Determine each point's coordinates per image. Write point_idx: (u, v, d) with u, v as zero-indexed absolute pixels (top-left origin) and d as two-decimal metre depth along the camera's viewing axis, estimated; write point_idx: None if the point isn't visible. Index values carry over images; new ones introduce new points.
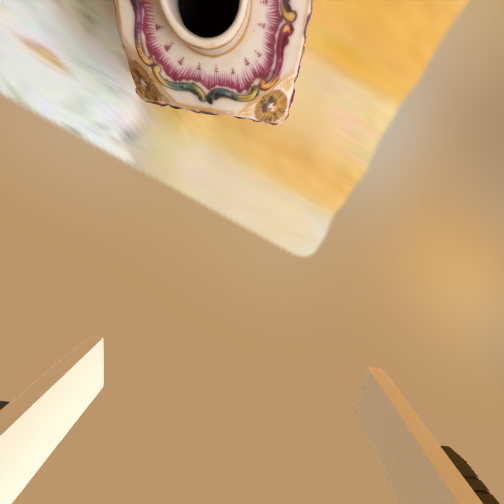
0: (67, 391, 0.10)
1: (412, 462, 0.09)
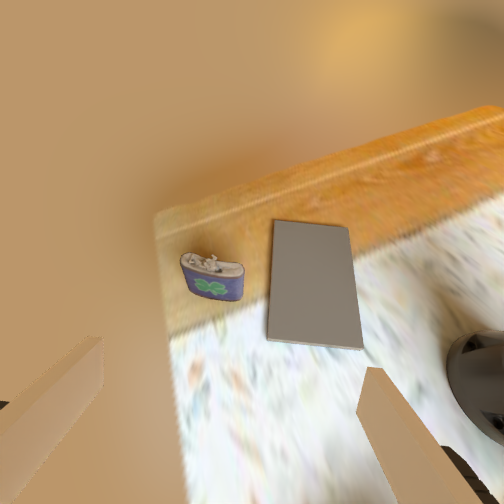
0: (67, 391, 0.10)
1: (412, 462, 0.09)
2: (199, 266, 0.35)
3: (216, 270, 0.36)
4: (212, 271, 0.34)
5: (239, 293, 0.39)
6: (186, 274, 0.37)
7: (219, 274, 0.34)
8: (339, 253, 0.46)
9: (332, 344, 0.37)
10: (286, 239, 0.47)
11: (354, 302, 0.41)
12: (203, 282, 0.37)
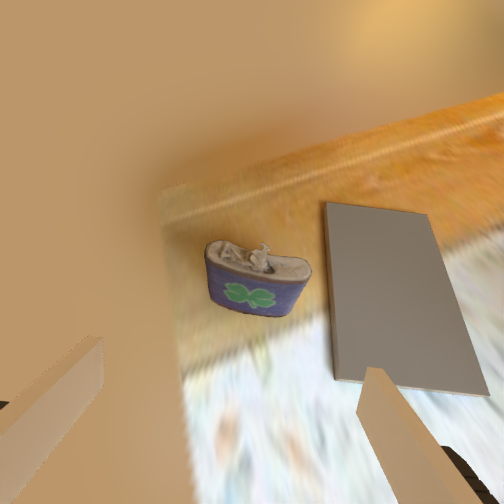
0: (67, 391, 0.10)
1: (412, 462, 0.09)
2: (238, 262, 0.21)
3: (264, 270, 0.22)
4: (260, 271, 0.21)
5: (290, 306, 0.26)
6: (213, 275, 0.23)
7: (272, 276, 0.20)
8: (422, 249, 0.32)
9: (440, 389, 0.24)
10: (345, 228, 0.33)
11: (459, 321, 0.27)
12: (240, 288, 0.23)
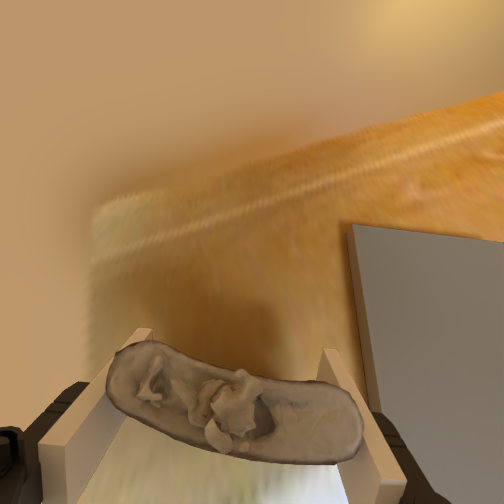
0: None
1: None
2: (183, 409, 0.08)
3: None
4: (238, 435, 0.08)
5: None
6: None
7: (268, 451, 0.08)
8: None
9: None
10: (386, 268, 0.21)
11: None
12: None
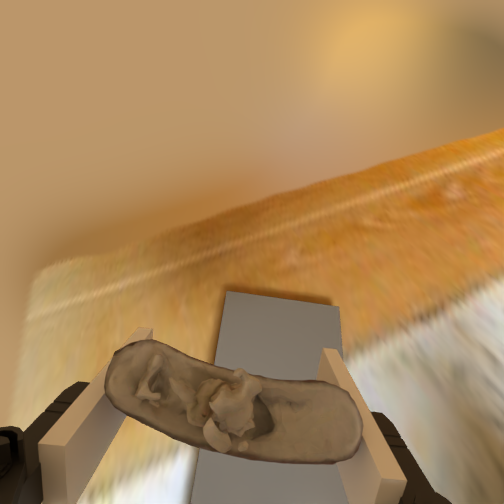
0: None
1: None
2: (182, 408, 0.08)
3: None
4: (237, 435, 0.08)
5: None
6: None
7: (267, 451, 0.08)
8: None
9: None
10: (240, 328, 0.29)
11: None
12: None
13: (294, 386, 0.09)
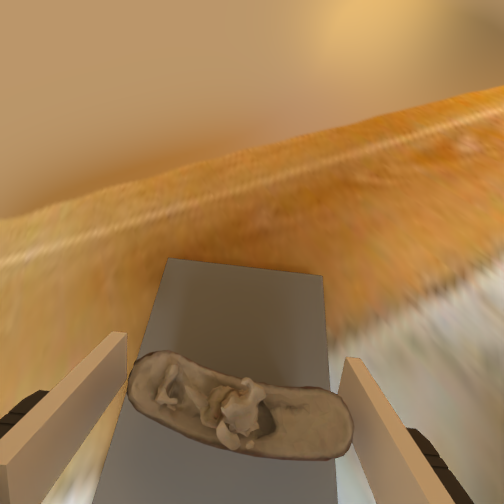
0: (98, 382, 0.11)
1: (379, 442, 0.09)
2: (196, 412, 0.10)
3: None
4: (243, 435, 0.09)
5: None
6: None
7: (270, 449, 0.09)
8: (300, 341, 0.20)
9: None
10: (181, 305, 0.21)
11: (328, 499, 0.15)
12: None
13: (293, 392, 0.10)
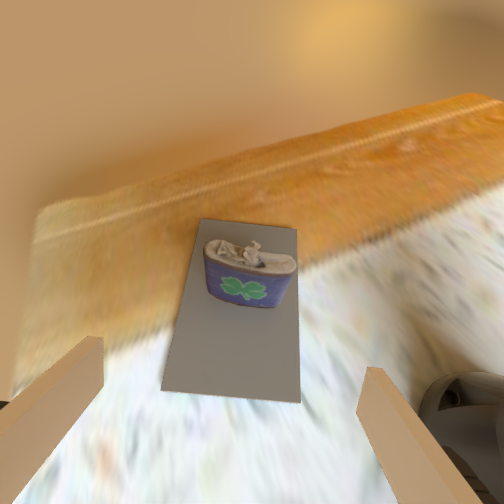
0: (67, 391, 0.10)
1: (412, 462, 0.09)
2: (232, 258, 0.24)
3: (255, 265, 0.25)
4: (252, 266, 0.24)
5: (280, 298, 0.29)
6: (210, 270, 0.26)
7: (262, 270, 0.23)
8: None
9: (255, 397, 0.26)
10: None
11: (294, 332, 0.30)
12: (235, 281, 0.26)
13: (272, 254, 0.24)
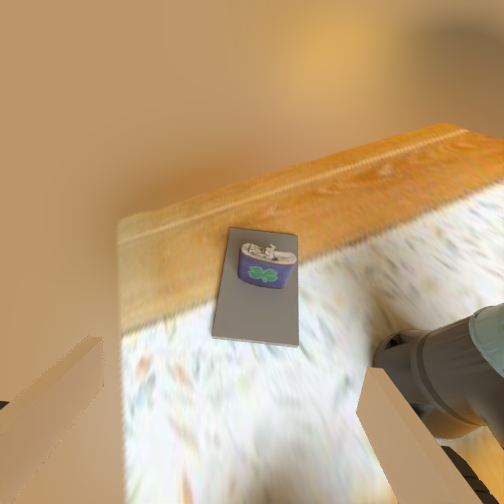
0: (67, 391, 0.10)
1: (412, 462, 0.09)
2: (258, 254, 0.40)
3: (271, 258, 0.40)
4: (270, 259, 0.39)
5: (286, 281, 0.44)
6: (243, 262, 0.41)
7: (276, 261, 0.39)
8: None
9: (270, 341, 0.41)
10: (238, 245, 0.51)
11: (295, 304, 0.45)
12: (258, 269, 0.41)
13: (282, 252, 0.40)
